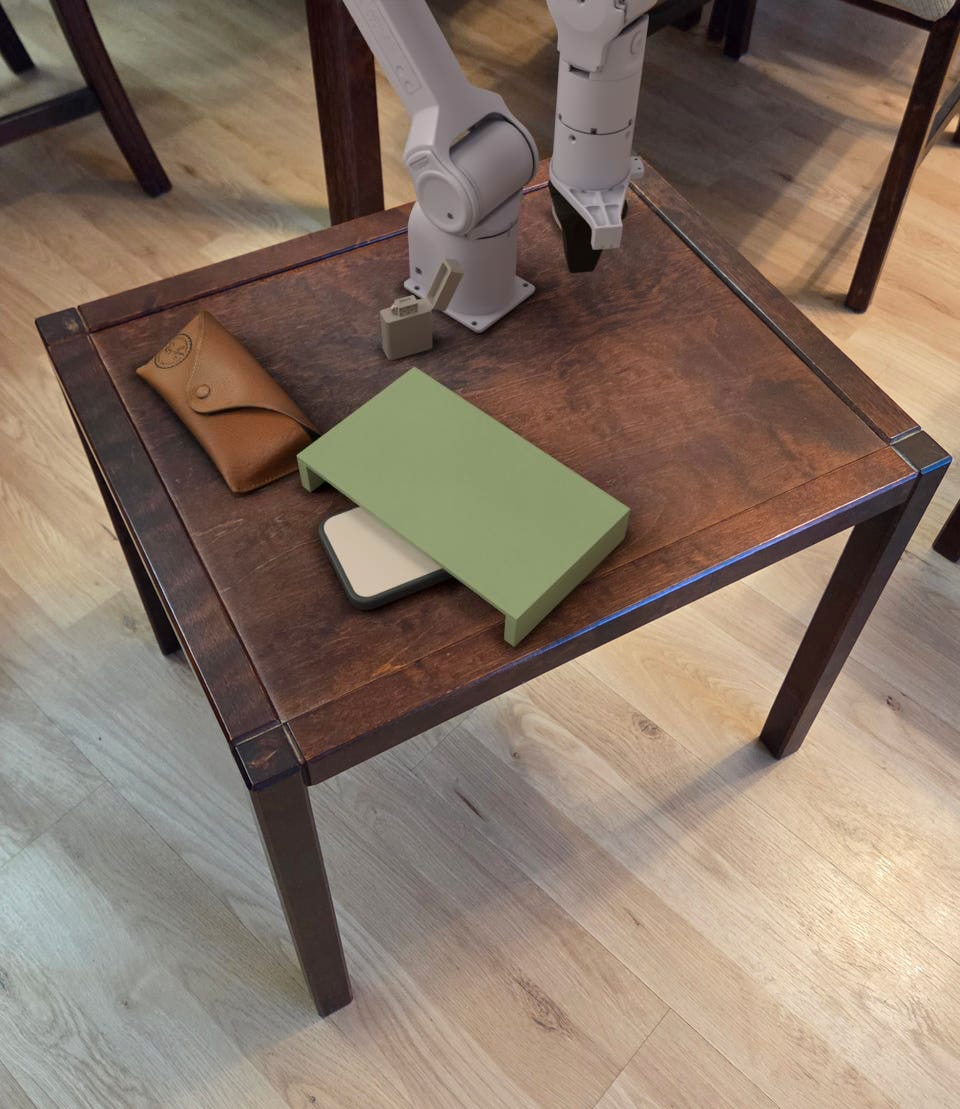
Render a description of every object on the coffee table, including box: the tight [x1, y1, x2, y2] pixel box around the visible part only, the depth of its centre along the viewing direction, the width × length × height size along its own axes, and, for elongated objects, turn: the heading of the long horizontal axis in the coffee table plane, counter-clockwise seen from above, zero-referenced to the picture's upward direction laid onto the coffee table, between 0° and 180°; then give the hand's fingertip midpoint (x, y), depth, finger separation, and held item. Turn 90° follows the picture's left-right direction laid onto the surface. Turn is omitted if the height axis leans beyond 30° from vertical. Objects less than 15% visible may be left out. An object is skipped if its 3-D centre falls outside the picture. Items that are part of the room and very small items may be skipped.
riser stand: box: [297, 366, 631, 648], centre depth 80 cm, size 22×13×4 cm, turn 48°
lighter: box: [379, 258, 464, 361], centre depth 89 cm, size 7×2×8 cm, turn 114°
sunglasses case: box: [135, 308, 323, 494], centre depth 86 cm, size 18×7×7 cm
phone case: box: [317, 504, 455, 611], centre depth 80 cm, size 9×2×16 cm
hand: (580, 267), depth 86 cm, fingers closed
